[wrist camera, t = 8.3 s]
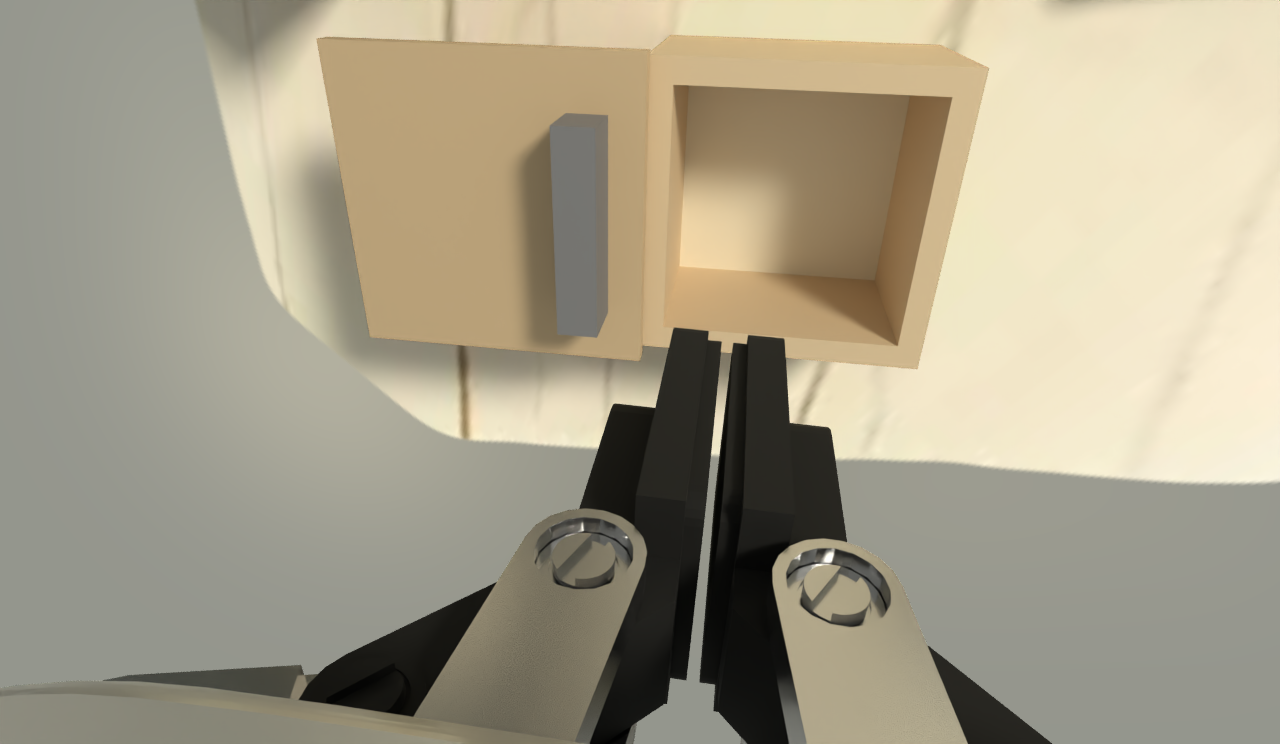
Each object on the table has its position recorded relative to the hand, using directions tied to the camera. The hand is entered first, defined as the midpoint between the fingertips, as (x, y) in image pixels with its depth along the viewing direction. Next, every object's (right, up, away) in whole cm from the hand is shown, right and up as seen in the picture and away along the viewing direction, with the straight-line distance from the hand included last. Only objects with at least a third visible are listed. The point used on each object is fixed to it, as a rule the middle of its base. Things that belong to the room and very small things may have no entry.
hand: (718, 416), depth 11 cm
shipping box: (+6, +10, +25) cm, 27 cm away
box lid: (-7, +8, +19) cm, 21 cm away
